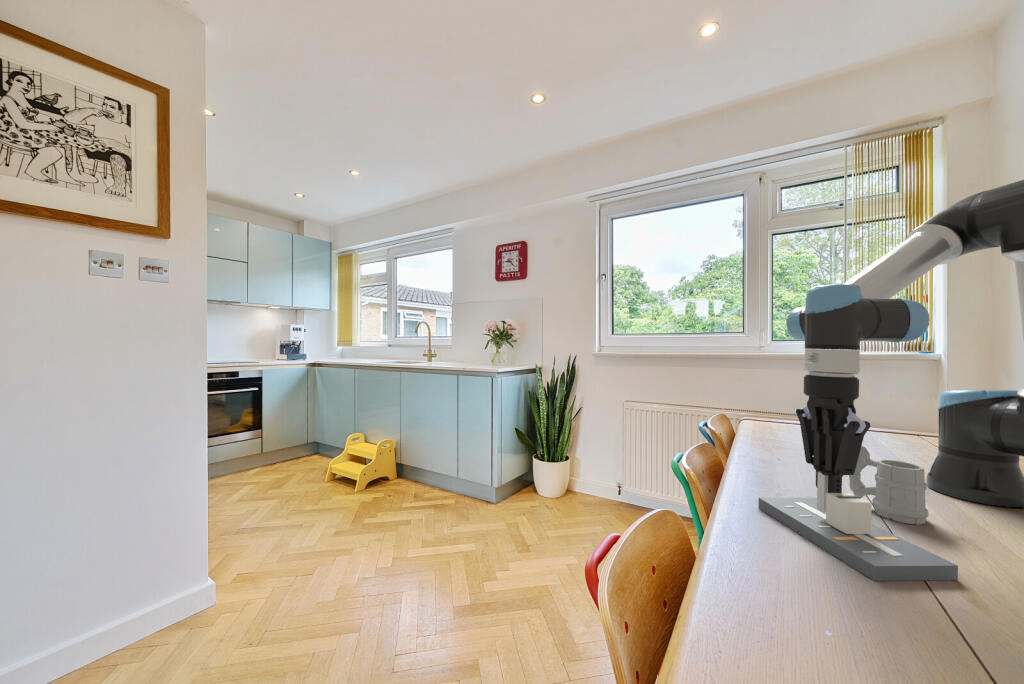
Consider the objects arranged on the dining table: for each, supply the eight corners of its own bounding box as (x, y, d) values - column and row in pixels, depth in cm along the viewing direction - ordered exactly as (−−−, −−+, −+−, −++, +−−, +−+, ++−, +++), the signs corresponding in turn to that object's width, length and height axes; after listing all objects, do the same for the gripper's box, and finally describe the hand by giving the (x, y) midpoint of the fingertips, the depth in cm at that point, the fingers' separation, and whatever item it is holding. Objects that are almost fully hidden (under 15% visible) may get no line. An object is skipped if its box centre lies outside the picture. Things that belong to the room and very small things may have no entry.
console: (817, 507, 79) (817, 497, 79) (957, 580, 55) (958, 564, 55) (758, 507, 79) (758, 496, 79) (874, 580, 55) (874, 565, 55)
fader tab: (848, 522, 68) (849, 491, 68) (870, 533, 64) (871, 501, 64) (825, 522, 68) (826, 491, 68) (846, 533, 64) (847, 501, 64)
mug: (918, 529, 71) (920, 461, 71) (839, 504, 81) (840, 445, 81) (935, 520, 74) (937, 456, 74) (857, 498, 85) (858, 441, 85)
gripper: (782, 371, 76) (780, 495, 76) (842, 377, 63) (838, 528, 63) (821, 372, 76) (818, 496, 76) (888, 378, 63) (885, 528, 63)
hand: (827, 510), depth 69 cm, fingers closed
